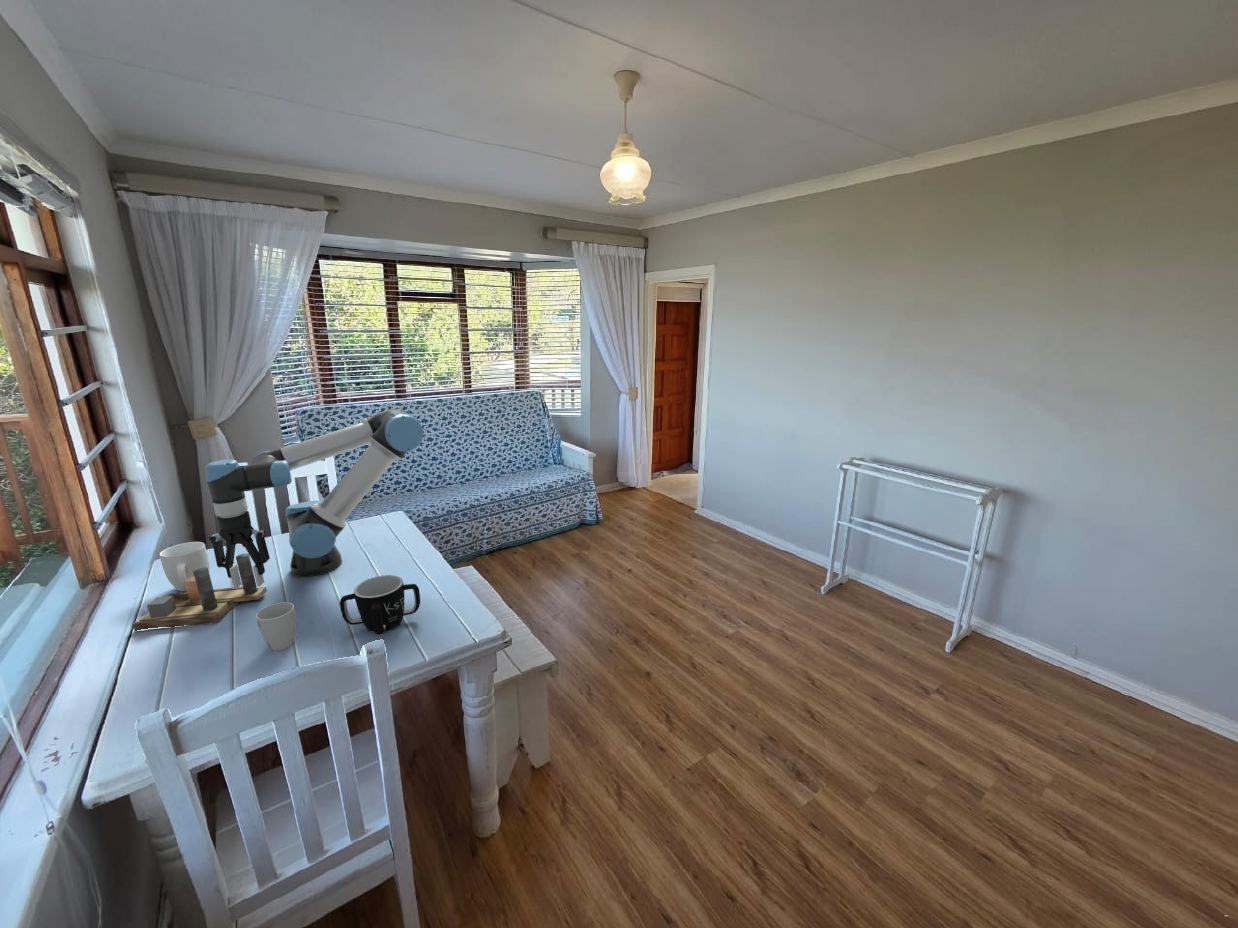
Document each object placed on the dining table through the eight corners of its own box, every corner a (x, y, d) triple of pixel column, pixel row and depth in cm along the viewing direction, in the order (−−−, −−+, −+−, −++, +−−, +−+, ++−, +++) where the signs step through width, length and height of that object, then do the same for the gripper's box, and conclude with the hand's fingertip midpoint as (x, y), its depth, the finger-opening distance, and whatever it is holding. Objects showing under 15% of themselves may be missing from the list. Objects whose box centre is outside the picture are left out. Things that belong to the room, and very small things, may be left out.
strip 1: (228, 606, 145) (217, 564, 142) (218, 615, 141) (207, 573, 137) (152, 614, 142) (139, 572, 138) (140, 624, 137) (126, 580, 133)
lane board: (246, 593, 154) (244, 586, 154) (218, 622, 139) (216, 614, 139) (172, 601, 150) (170, 593, 150) (134, 631, 135) (132, 623, 135)
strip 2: (266, 590, 154) (257, 551, 150) (259, 599, 149) (249, 558, 145) (196, 597, 150) (185, 557, 146) (186, 606, 145) (174, 565, 142)
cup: (275, 635, 133) (267, 602, 130) (306, 634, 134) (300, 601, 131) (256, 655, 125) (248, 620, 123) (290, 653, 126) (282, 618, 123)
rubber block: (176, 608, 142) (173, 595, 141) (167, 616, 138) (163, 603, 137) (160, 610, 141) (156, 597, 140) (150, 617, 137) (146, 605, 136)
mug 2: (374, 649, 127) (367, 607, 124) (339, 629, 136) (332, 590, 132) (428, 618, 141) (423, 580, 137) (393, 602, 149) (388, 566, 146)
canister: (213, 592, 150) (209, 574, 149) (204, 600, 146) (199, 582, 144) (195, 594, 150) (190, 576, 148) (185, 602, 145) (180, 583, 143)
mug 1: (211, 593, 154) (201, 555, 151) (164, 604, 149) (152, 565, 145) (215, 574, 166) (206, 538, 163) (172, 583, 161) (162, 546, 157)
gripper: (273, 506, 149) (288, 575, 155) (203, 511, 145) (221, 582, 151) (262, 515, 142) (278, 588, 148) (187, 520, 138) (207, 595, 144)
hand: (249, 585), depth 150 cm, fingers open, 5 cm apart
